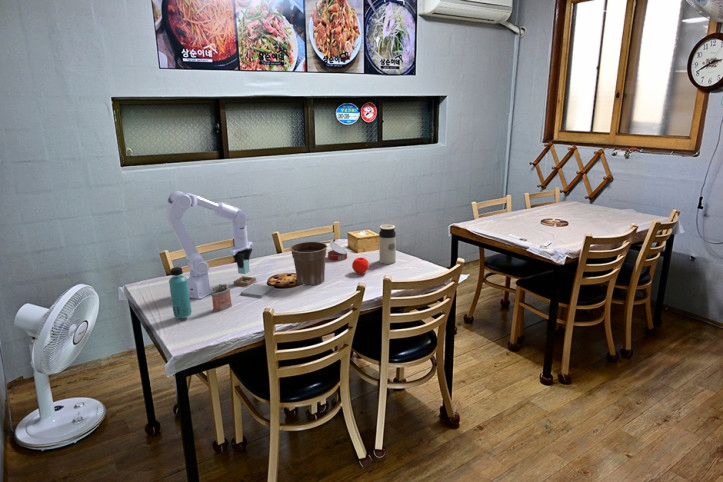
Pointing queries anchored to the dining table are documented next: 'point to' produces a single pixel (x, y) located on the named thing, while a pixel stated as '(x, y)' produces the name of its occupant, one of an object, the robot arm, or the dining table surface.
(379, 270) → the dining table surface
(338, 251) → the canned food
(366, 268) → the apple
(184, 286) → the beverage bottle
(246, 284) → the collar
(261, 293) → the mat
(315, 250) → the plant pot
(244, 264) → the peg
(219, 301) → the crushed red tin
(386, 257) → the travel mug
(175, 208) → the robot arm
